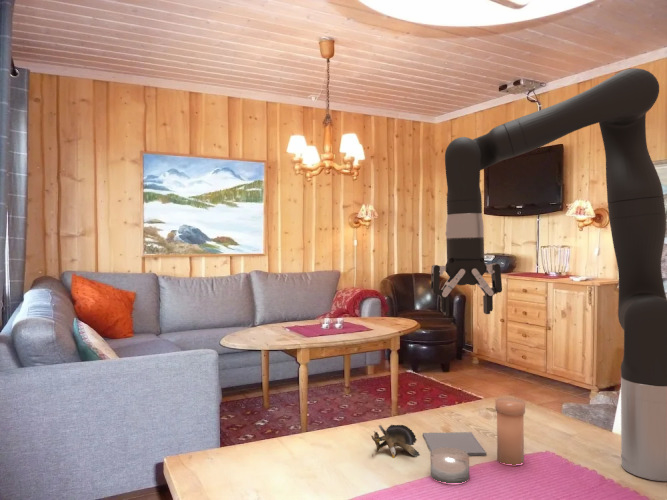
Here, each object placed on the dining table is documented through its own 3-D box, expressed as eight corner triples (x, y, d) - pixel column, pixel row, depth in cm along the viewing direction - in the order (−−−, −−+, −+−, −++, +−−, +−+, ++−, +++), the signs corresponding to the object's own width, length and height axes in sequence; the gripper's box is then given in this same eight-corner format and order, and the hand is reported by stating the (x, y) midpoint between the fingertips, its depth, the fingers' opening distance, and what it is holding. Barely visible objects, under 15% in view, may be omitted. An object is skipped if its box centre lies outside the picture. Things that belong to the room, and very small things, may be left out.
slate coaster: (471, 434, 112) (471, 432, 112) (486, 455, 101) (486, 452, 101) (422, 435, 112) (422, 432, 112) (432, 456, 101) (432, 453, 101)
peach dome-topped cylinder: (519, 454, 102) (518, 397, 102) (530, 466, 96) (529, 406, 96) (491, 454, 102) (491, 397, 102) (501, 467, 96) (500, 406, 96)
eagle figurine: (373, 457, 99) (418, 451, 97) (369, 420, 103) (412, 414, 101) (379, 463, 105) (422, 458, 103) (375, 429, 109) (416, 423, 107)
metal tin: (463, 467, 96) (463, 447, 96) (473, 485, 89) (473, 463, 89) (427, 468, 96) (427, 447, 96) (434, 485, 89) (434, 463, 89)
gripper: (434, 236, 99) (436, 317, 100) (505, 235, 100) (507, 315, 100) (426, 237, 107) (428, 312, 107) (492, 235, 107) (494, 311, 107)
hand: (466, 314), depth 104 cm, fingers open, 8 cm apart
